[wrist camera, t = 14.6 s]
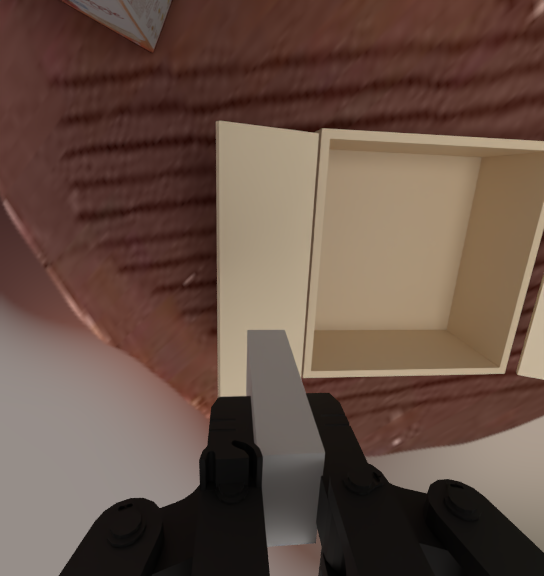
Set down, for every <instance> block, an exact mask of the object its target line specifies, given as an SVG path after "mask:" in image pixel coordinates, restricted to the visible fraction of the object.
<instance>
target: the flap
mask: <svg viewBox="0 0 544 576" xmlns="http://www.w3.org/2000/svg"><path fill="white" fill-rule="evenodd" d="M318 140H319V133H312V132H304V131H296V130H289V129H281V128H273V127H265V126H257V125H250V124H242V123H234V122H226V121H216V202H217V335H218V398H219V397H228V396H246V371H247V330H285V332H286V335H287V338H288V341H289V344H290V347H291V350H292V353H293V356H294V359H295V362H296V365H297V368H298V371H299V374H300V377H301V371H302V357H303V343H304V330H305V316H306V303H307V289H308V276H309V262H310V248H311V235H312V221H313V208H314V194H315V180H316V167H317V153H318Z"/></svg>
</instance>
